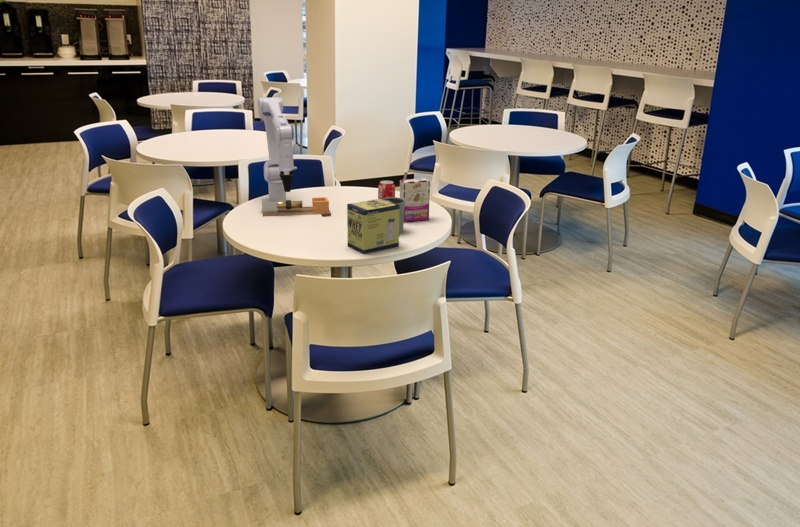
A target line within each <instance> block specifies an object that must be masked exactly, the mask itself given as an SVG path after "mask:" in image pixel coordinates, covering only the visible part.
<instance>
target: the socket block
mask: <svg viewBox="0 0 800 527" xmlns="http://www.w3.org/2000/svg"><path fill="white" fill-rule="evenodd" d="M311 198H312V205H311V206H312V207H313V211H314V213H316V212H329V210H330V201H329V199H328V197H324V196H323V197H318V196H317V197H311Z"/></svg>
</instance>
